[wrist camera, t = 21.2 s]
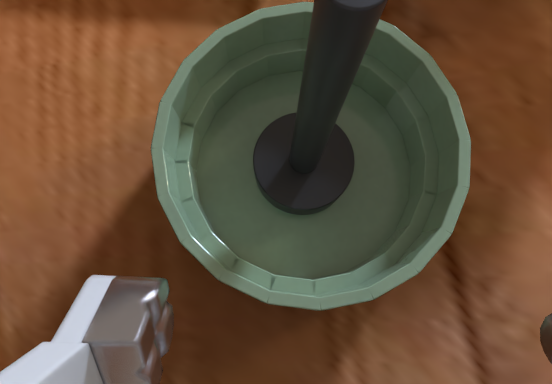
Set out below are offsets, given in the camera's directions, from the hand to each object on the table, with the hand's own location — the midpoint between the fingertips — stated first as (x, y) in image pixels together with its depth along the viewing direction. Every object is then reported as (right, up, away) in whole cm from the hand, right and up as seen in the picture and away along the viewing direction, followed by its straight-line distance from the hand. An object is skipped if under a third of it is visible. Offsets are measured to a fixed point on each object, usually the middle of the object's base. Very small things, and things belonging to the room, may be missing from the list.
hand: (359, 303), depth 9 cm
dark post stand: (0, +4, +16) cm, 16 cm away
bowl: (0, +4, +16) cm, 17 cm away
